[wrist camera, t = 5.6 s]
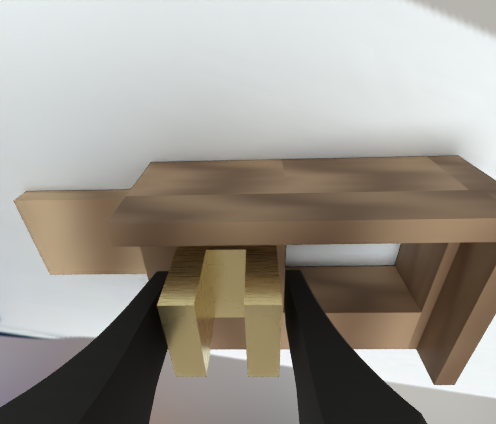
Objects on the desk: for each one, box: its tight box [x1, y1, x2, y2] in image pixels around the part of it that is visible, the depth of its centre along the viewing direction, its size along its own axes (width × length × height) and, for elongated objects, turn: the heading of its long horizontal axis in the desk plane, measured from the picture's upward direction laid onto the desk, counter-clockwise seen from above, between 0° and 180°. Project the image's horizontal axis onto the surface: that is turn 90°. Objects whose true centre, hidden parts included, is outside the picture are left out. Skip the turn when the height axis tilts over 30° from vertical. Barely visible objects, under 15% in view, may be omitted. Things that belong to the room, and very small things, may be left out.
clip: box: [157, 245, 282, 377], centre depth 13 cm, size 4×4×4 cm
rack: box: [14, 156, 496, 385], centre depth 16 cm, size 22×10×6 cm, turn 92°
